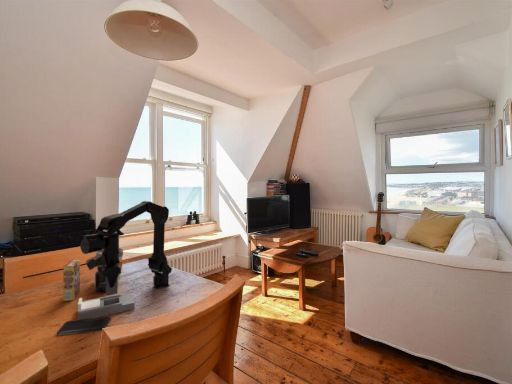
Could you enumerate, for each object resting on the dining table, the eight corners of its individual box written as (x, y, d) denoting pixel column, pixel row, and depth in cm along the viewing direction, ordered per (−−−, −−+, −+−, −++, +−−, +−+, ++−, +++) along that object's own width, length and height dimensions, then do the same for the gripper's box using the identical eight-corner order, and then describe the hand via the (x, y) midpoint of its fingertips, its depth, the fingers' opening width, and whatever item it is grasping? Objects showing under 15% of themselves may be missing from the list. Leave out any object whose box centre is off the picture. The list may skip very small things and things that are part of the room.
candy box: (74, 300, 110) (74, 265, 110) (62, 301, 109) (62, 266, 108) (80, 291, 119) (80, 259, 118) (69, 293, 117) (69, 260, 117)
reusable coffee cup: (91, 280, 132) (90, 251, 132) (115, 273, 143) (115, 246, 142) (104, 285, 126) (103, 255, 125) (128, 277, 136) (128, 250, 136)
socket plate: (132, 297, 113) (132, 291, 113) (134, 308, 104) (134, 301, 104) (80, 308, 103) (80, 300, 103) (77, 321, 94) (77, 313, 94)
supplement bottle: (103, 293, 117) (103, 268, 116) (91, 292, 118) (90, 266, 118) (115, 287, 124) (114, 263, 123) (102, 286, 125) (102, 262, 124)
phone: (105, 327, 89) (55, 333, 85) (105, 330, 89) (55, 336, 85) (112, 316, 97) (66, 320, 93) (112, 318, 97) (66, 323, 93)
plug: (117, 289, 107) (116, 268, 107) (117, 293, 103) (117, 271, 103) (106, 291, 105) (105, 270, 104) (106, 295, 101) (105, 273, 101)
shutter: (100, 300, 105) (99, 294, 105) (99, 307, 99) (99, 300, 99) (79, 304, 102) (79, 297, 102) (77, 311, 96) (77, 305, 96)
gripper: (88, 245, 107) (89, 281, 108) (85, 256, 91) (86, 299, 92) (118, 242, 113) (119, 276, 114) (120, 252, 97) (121, 292, 98)
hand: (111, 285), depth 104 cm, fingers closed on plug, 4 cm apart
